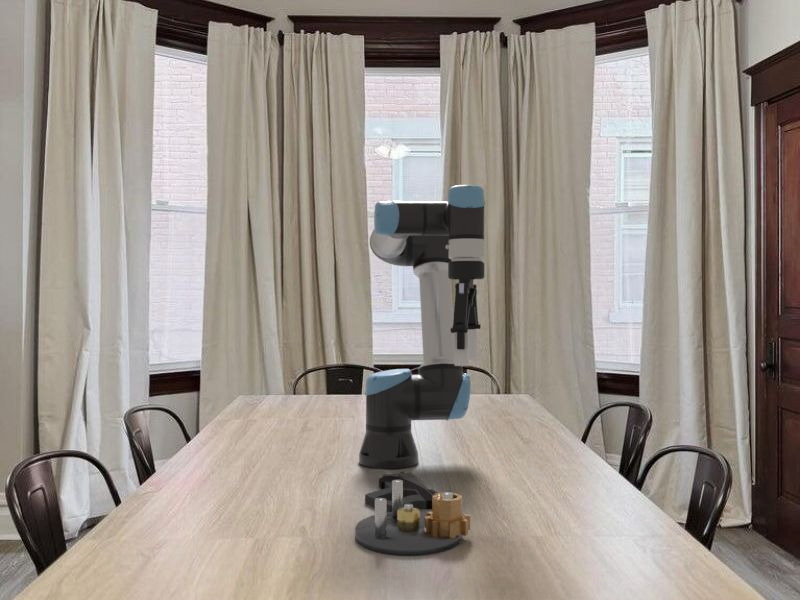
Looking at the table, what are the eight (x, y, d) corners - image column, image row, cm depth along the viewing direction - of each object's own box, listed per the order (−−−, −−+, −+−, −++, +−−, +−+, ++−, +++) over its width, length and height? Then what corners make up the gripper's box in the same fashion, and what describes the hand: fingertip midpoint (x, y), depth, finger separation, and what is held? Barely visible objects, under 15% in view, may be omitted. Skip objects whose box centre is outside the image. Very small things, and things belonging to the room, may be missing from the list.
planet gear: (429, 521, 129) (429, 489, 129) (472, 524, 127) (472, 491, 127) (421, 536, 122) (421, 501, 122) (466, 539, 120) (466, 504, 120)
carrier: (371, 515, 138) (371, 474, 138) (468, 522, 133) (468, 480, 133) (341, 550, 119) (340, 503, 119) (452, 560, 115) (452, 511, 115)
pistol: (374, 507, 137) (448, 501, 141) (349, 474, 162) (412, 469, 166) (374, 519, 137) (448, 512, 141) (349, 484, 162) (413, 479, 166)
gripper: (457, 262, 160) (457, 356, 160) (437, 258, 136) (437, 368, 136) (490, 262, 158) (490, 357, 159) (476, 257, 134) (476, 369, 134)
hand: (466, 362), depth 147 cm, fingers open, 13 cm apart
